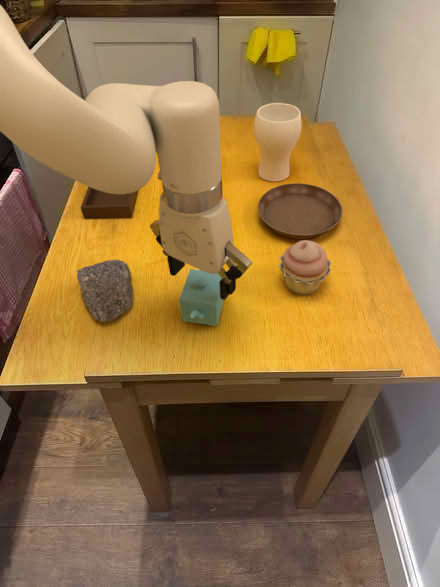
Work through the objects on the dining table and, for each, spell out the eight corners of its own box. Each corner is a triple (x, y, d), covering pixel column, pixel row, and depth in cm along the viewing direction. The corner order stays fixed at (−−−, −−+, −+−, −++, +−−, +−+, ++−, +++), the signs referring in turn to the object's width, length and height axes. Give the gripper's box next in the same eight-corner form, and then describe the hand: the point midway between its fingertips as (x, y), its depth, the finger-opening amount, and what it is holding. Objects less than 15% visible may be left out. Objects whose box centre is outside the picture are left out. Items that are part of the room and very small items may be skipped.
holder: (132, 218, 90) (129, 206, 87) (84, 219, 90) (80, 207, 88) (141, 176, 101) (139, 165, 98) (99, 177, 101) (95, 166, 99)
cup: (292, 160, 104) (299, 100, 93) (298, 184, 97) (307, 122, 85) (250, 162, 104) (252, 102, 93) (254, 186, 97) (256, 124, 85)
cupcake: (285, 259, 80) (291, 218, 72) (332, 273, 77) (343, 232, 69) (268, 292, 74) (272, 251, 67) (318, 308, 71) (328, 267, 64)
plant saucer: (299, 257, 80) (301, 246, 78) (240, 215, 89) (240, 204, 87) (357, 221, 87) (360, 209, 85) (297, 185, 96) (298, 174, 94)
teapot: (212, 345, 67) (211, 317, 61) (177, 340, 67) (172, 311, 62) (227, 292, 74) (226, 262, 69) (194, 287, 75) (191, 258, 70)
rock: (67, 271, 72) (118, 247, 75) (78, 289, 77) (126, 265, 79) (88, 318, 66) (144, 290, 68) (100, 335, 70) (151, 308, 73)
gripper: (122, 184, 53) (145, 275, 66) (234, 228, 47) (235, 320, 59) (159, 158, 57) (173, 249, 70) (266, 195, 51) (261, 287, 63)
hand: (202, 281), depth 65 cm, fingers open, 9 cm apart
